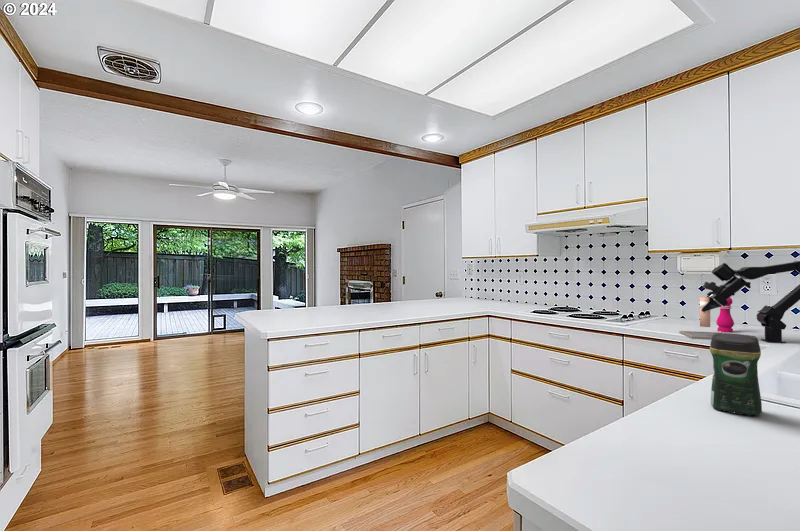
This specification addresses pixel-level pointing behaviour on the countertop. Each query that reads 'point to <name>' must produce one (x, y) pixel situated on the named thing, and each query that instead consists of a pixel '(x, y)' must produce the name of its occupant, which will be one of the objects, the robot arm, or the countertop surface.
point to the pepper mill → (725, 318)
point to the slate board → (698, 334)
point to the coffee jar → (735, 373)
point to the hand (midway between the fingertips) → (701, 310)
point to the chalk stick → (704, 313)
